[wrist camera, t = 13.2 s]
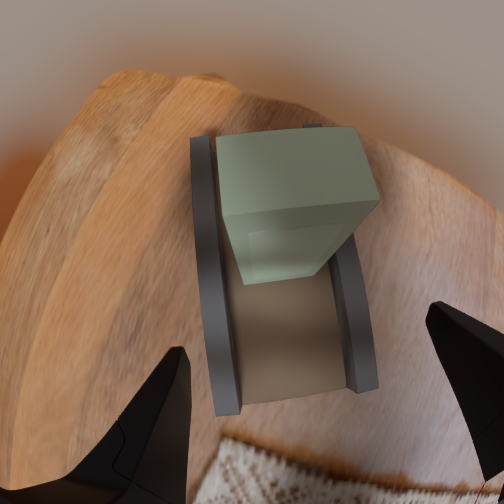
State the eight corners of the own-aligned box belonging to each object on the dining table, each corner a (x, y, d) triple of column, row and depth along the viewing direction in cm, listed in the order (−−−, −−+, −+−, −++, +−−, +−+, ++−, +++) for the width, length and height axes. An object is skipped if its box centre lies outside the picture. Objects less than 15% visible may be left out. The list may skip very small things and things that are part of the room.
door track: (361, 378, 20) (382, 387, 16) (220, 402, 20) (211, 416, 16) (316, 151, 25) (324, 123, 21) (196, 165, 25) (186, 138, 21)
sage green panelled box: (313, 276, 21) (381, 201, 8) (244, 285, 20) (222, 218, 8) (306, 235, 21) (354, 125, 9) (239, 244, 21) (215, 135, 9)
